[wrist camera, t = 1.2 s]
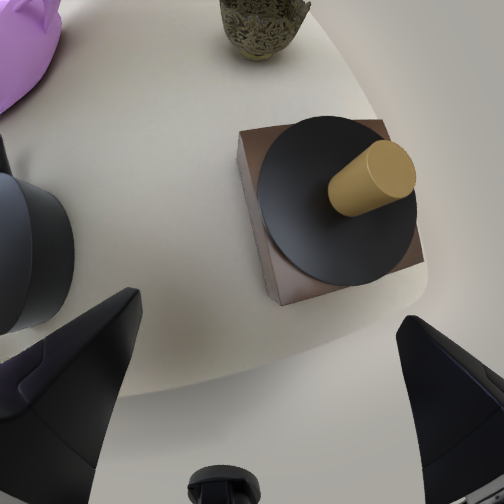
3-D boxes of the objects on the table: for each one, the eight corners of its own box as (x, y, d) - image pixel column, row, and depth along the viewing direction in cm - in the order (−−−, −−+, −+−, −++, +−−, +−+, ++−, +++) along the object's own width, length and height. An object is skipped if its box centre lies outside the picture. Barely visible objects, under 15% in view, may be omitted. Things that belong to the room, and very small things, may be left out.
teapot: (76, 85, 20) (13, -2, 5) (-31, 147, 18) (-94, 112, 3) (108, -8, 21) (87, -71, 6) (9, 42, 19) (-25, 0, 4)
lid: (424, 261, 17) (483, 259, 11) (281, 306, 15) (310, 328, 10) (382, 119, 17) (424, 80, 11) (239, 131, 16) (244, 73, 10)
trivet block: (388, 262, 22) (424, 261, 17) (268, 296, 20) (281, 306, 15) (356, 144, 22) (382, 119, 17) (236, 160, 21) (239, 131, 16)
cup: (300, 76, 22) (323, 20, 14) (223, 80, 21) (224, 18, 13) (282, 31, 22) (296, -21, 14) (215, 34, 21) (215, -21, 13)
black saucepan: (88, 315, 19) (45, 330, 13) (3, 329, 18) (-36, 340, 11) (70, 128, 20) (37, 97, 13) (-9, 173, 18) (-43, 158, 12)
